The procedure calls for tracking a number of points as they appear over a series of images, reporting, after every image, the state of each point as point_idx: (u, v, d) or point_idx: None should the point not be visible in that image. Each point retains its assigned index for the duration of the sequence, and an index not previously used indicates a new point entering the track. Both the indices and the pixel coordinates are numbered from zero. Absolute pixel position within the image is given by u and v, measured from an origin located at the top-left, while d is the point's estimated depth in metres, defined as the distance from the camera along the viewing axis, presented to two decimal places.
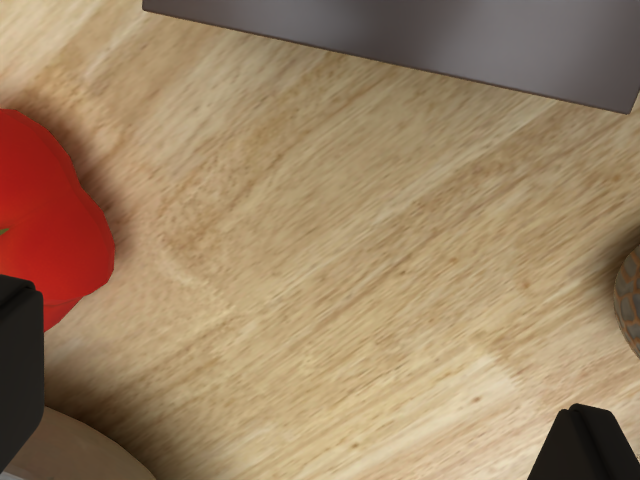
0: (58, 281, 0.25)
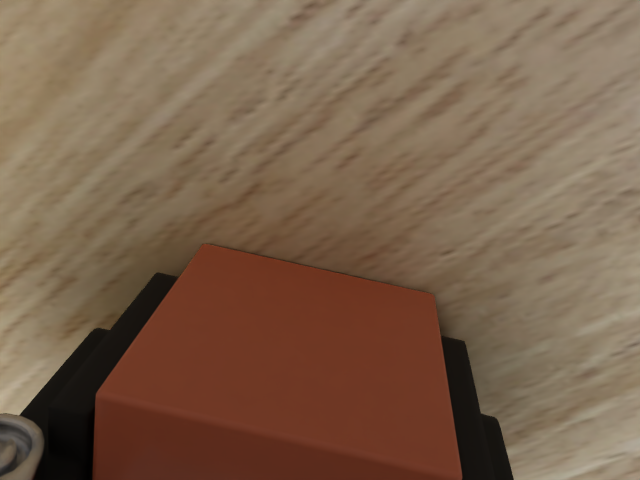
0: None
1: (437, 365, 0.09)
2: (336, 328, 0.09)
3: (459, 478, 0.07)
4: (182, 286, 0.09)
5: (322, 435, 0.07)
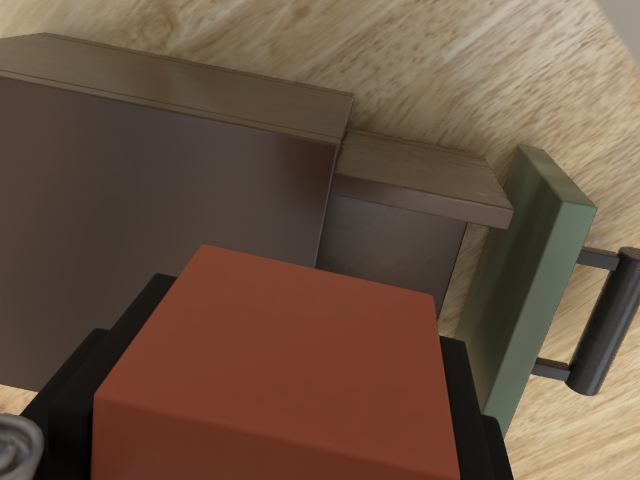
0: None
1: (435, 366, 0.09)
2: (334, 328, 0.09)
3: (457, 479, 0.07)
4: (181, 286, 0.09)
5: (320, 435, 0.07)
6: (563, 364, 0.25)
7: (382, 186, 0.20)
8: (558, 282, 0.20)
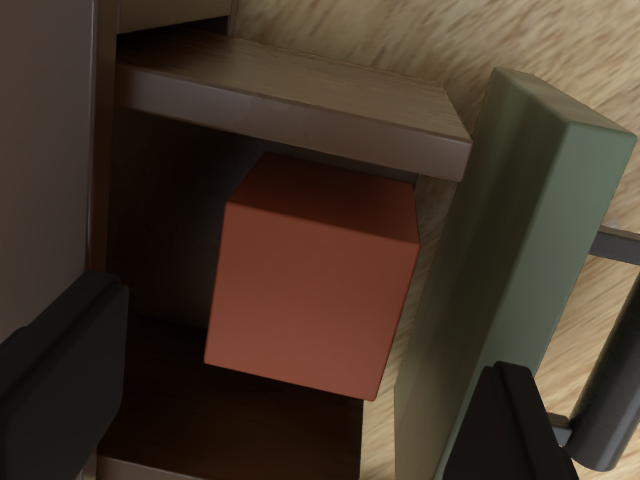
0: None
1: (411, 210, 0.14)
2: (351, 191, 0.15)
3: (419, 248, 0.13)
4: (256, 168, 0.15)
5: (346, 226, 0.13)
6: (560, 418, 0.16)
7: (217, 92, 0.10)
8: (556, 285, 0.11)
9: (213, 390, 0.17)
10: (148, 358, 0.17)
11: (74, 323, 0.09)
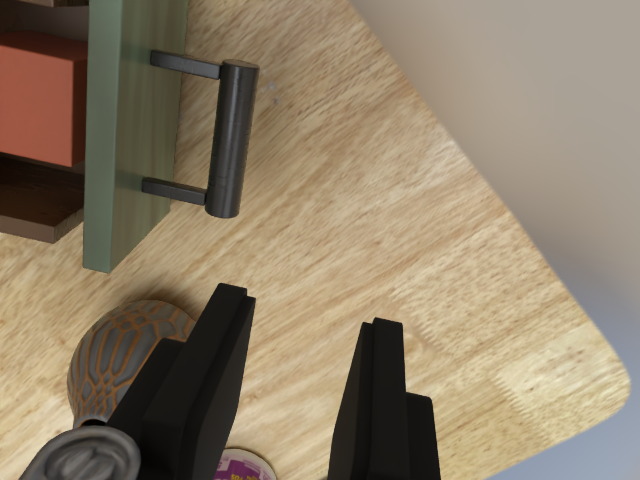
0: None
1: None
2: (63, 45, 0.25)
3: (72, 62, 0.22)
4: (8, 32, 0.25)
5: (33, 51, 0.23)
6: (202, 189, 0.26)
7: None
8: (110, 63, 0.20)
9: None
10: None
11: (224, 336, 0.09)
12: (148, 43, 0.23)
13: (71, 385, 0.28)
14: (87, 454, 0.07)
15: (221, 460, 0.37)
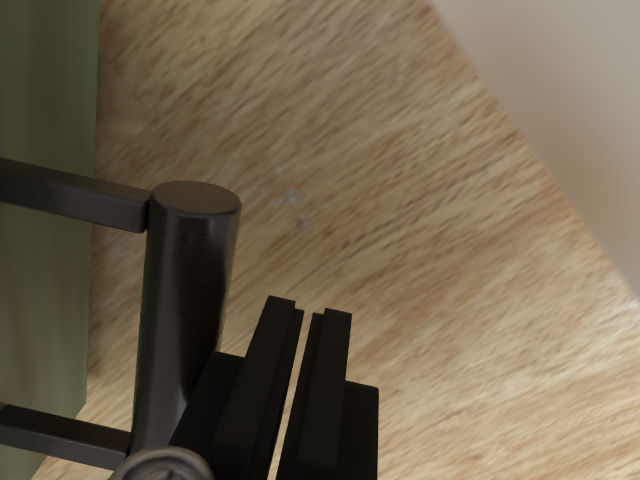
0: None
1: None
2: None
3: None
4: None
5: None
6: (122, 436, 0.12)
7: None
8: None
9: None
10: None
11: (280, 351, 0.09)
12: None
13: None
14: (163, 475, 0.07)
15: None
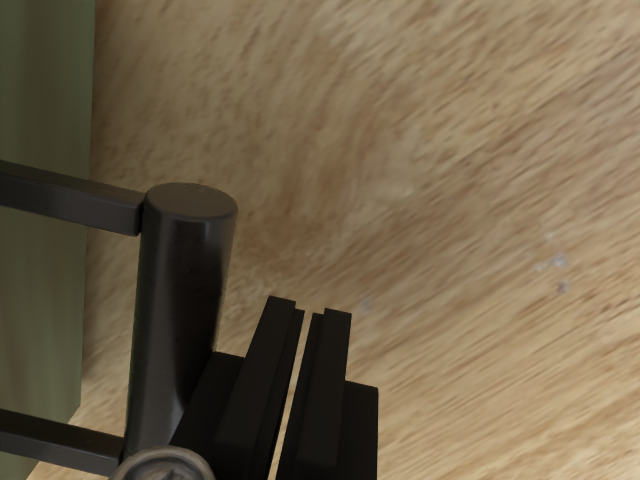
0: None
1: None
2: None
3: None
4: None
5: None
6: (115, 442, 0.12)
7: None
8: None
9: None
10: None
11: (281, 351, 0.09)
12: None
13: None
14: (163, 475, 0.07)
15: None
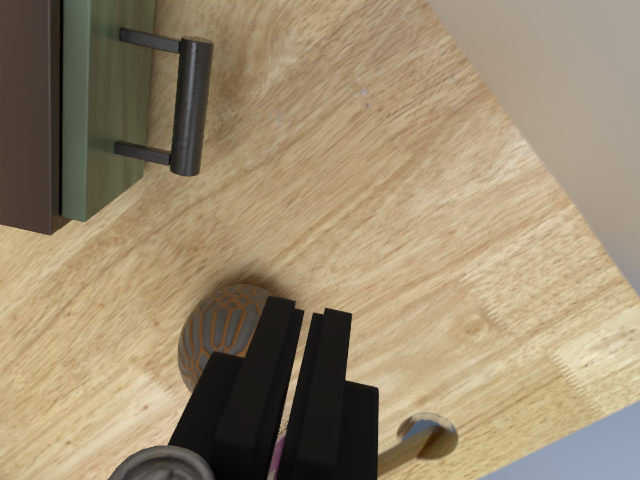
0: None
1: None
2: None
3: None
4: None
5: None
6: (167, 151, 0.29)
7: None
8: (82, 37, 0.24)
9: None
10: None
11: (280, 351, 0.09)
12: (116, 21, 0.26)
13: (186, 358, 0.32)
14: (163, 475, 0.07)
15: None
